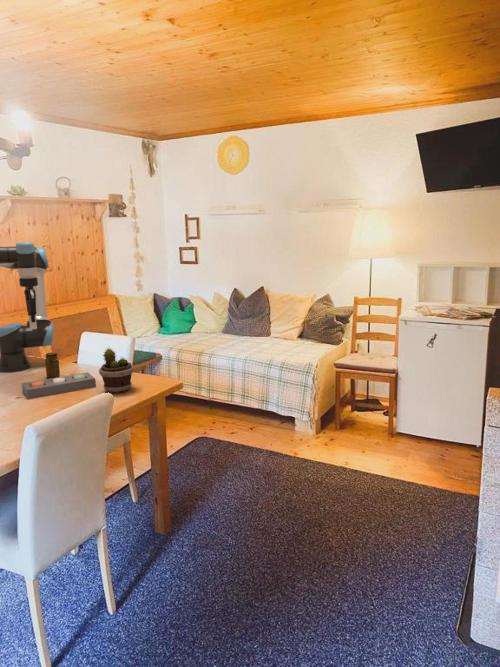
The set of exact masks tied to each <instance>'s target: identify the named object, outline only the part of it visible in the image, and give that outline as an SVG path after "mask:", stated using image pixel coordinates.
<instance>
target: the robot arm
mask: <svg viewBox="0 0 500 667" xmlns="http://www.w3.org/2000/svg"><path fill="white" fill-rule="evenodd" d="M0 267H2V268H6V269H11V270H16V272H17V273H18V277H19V280H18V282H19V286H20V287H21V288H25V289H24V290H23V291H24V292H23V294H24V298H25V304H26V312H27V316H28V320H27V321H26V325H23V323H22V322H14V323H9V324H8V323H7V324H5V325H1V326H0V372H2V373H14V372H15V373H16V372H21V371H24V370H28V369H29V368H31V363H30V360H29V358H28V356H27V354H26V348H27V349H28V348H30V349H31V348H37V347H43V348H44V347H48V346H52V345H53V343H54V337H55V336H54V335H55V334H54V332H55V327H54V326H55V325H54V323H52V322H51V319H50V318H49V317H48V311H47V298H46V288H45V276H44V275H45V274H46V273H47V270H48V269H49V267H50V266H49V260H48V256H47V252H46V249H45V248H44V247H43V246H35V245H34V243H33V242H23V241H22V242H16V243H15V246H0Z"/></svg>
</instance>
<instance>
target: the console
mask: <svg viewBox="0 0 500 667" xmlns="http://www.w3.org/2000/svg"><path fill="white" fill-rule="evenodd" d="M78 374H79V373H76V374H70V375H63V376H62V377H57V378H65V382H60V383H53V379H55V378H51V379H46V378H44V379H39V380H38V381H43V382H44V385H42V386H36V387H32V386H31V383H32V382H35V381H36V380H34V381H27V382H26V381H25V382H22V383H21V389H22V393H23V394H24V396H25V398H26V399H27V400H30V399H37V398H42V397H48V396H53V395H58V394H64V393H69V392H75V390H76V391H79V390H80V389H81V390H85V389H86V388H87V389H92V388H96V387H97V380H96V377H94V376H93V375H91V373H89V372H81V373H80V374H84V375H85V378H83V379H77V380H74V375H78ZM87 389H86V390H87Z"/></svg>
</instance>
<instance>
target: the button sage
mask: <svg viewBox="0 0 500 667" xmlns="http://www.w3.org/2000/svg"><path fill="white" fill-rule="evenodd" d="M77 374H78V375H75V374H73V375H74V380H77V379H83V378H85V375H84V374H81V373H77Z"/></svg>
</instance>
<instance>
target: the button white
mask: <svg viewBox="0 0 500 667" xmlns="http://www.w3.org/2000/svg"><path fill="white" fill-rule="evenodd" d="M60 382H65V378H55V379H53V383H60Z"/></svg>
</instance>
